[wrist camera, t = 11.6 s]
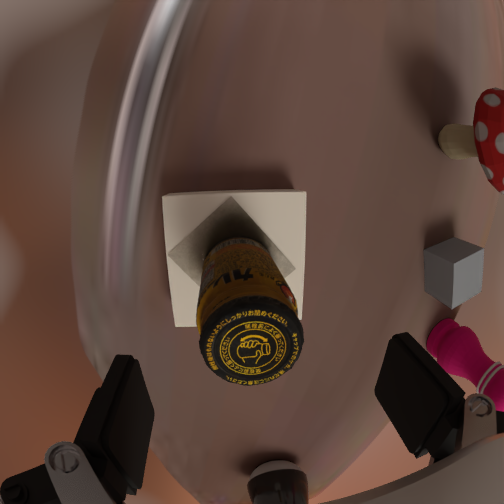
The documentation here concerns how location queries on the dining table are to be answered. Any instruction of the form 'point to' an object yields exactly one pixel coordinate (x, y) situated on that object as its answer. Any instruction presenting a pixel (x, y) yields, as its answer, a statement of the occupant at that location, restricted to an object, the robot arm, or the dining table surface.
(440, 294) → the slate cube
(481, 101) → the decorative mushroom
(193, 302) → the cream block
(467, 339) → the pepper mill
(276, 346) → the condiment
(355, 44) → the dining table surface
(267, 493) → the dark grey domed cylinder
